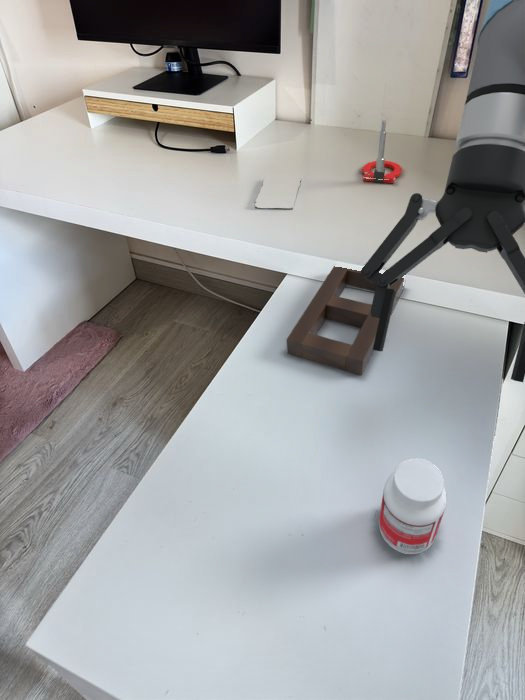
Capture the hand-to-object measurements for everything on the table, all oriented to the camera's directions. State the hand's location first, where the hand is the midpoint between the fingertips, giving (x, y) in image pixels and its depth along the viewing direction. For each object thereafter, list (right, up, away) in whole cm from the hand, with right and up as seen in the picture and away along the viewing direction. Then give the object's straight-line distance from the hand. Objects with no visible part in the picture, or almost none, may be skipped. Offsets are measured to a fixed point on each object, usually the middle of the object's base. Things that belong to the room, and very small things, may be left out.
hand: (444, 365), depth 51 cm
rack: (-5, +7, +29) cm, 31 cm away
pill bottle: (-2, -19, +5) cm, 19 cm away
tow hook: (+8, +41, +61) cm, 74 cm away
